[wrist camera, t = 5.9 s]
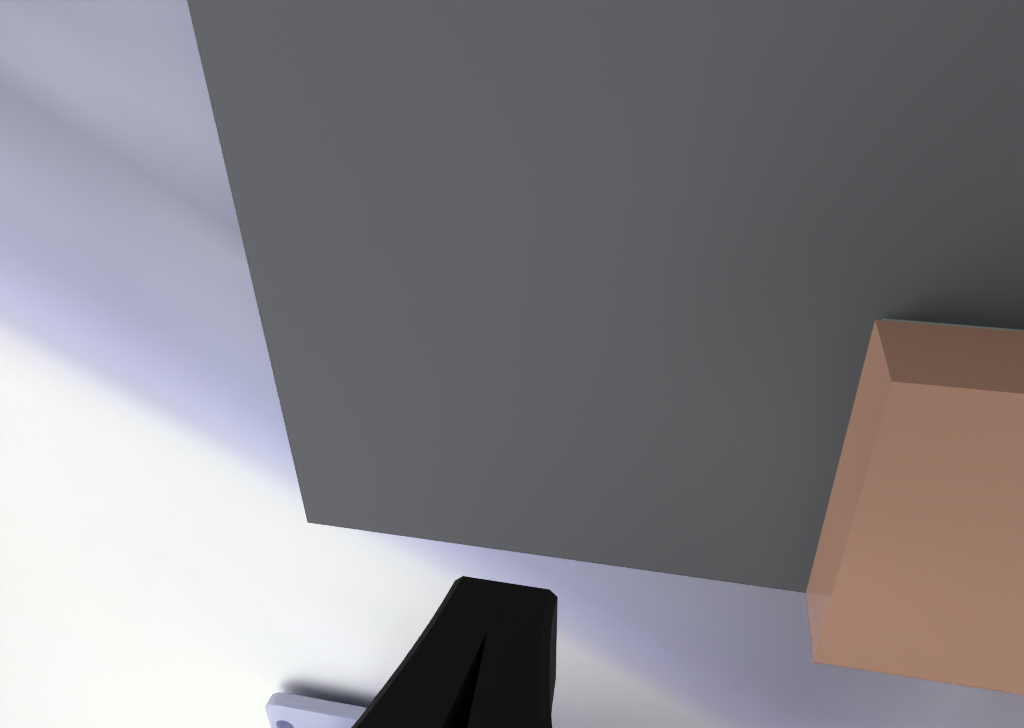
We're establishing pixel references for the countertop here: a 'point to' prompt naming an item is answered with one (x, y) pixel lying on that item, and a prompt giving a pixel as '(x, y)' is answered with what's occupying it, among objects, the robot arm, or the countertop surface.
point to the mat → (608, 252)
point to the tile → (928, 512)
